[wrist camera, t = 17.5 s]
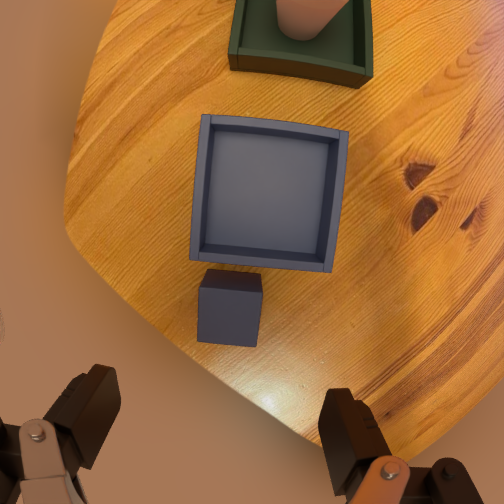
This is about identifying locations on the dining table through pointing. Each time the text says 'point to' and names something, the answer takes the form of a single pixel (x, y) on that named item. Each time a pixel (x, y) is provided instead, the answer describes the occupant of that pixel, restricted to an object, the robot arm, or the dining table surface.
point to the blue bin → (267, 193)
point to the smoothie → (306, 16)
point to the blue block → (229, 308)
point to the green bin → (304, 44)
